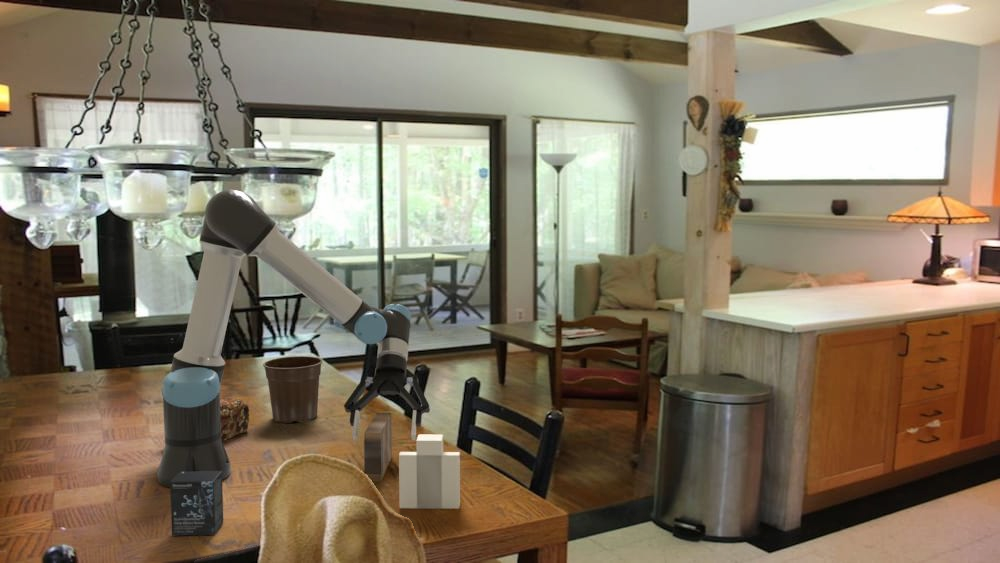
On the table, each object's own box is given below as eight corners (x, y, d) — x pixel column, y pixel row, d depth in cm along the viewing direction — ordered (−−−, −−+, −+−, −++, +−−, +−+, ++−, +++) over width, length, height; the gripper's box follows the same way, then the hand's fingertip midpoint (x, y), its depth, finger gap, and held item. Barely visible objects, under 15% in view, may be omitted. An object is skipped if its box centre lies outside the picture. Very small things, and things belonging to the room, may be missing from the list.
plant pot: (252, 422, 213) (250, 364, 212) (288, 407, 228) (286, 353, 227) (301, 428, 208) (299, 369, 206) (335, 413, 222) (334, 358, 221)
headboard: (459, 508, 155) (459, 440, 153) (399, 508, 155) (398, 440, 153) (461, 493, 163) (461, 428, 161) (404, 493, 163) (404, 428, 161)
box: (171, 537, 141) (169, 481, 140) (182, 524, 147) (180, 470, 146) (215, 536, 142) (213, 480, 141) (224, 523, 147) (222, 469, 146)
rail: (381, 481, 169) (380, 433, 168) (364, 481, 169) (363, 433, 168) (392, 457, 185) (391, 412, 184) (376, 457, 185) (376, 412, 184)
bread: (197, 452, 189) (195, 412, 187) (165, 446, 193) (164, 407, 192) (251, 431, 205) (250, 395, 204) (221, 426, 210) (220, 390, 209)
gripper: (442, 368, 195) (438, 445, 182) (344, 368, 195) (333, 445, 182) (441, 352, 189) (436, 430, 176) (339, 352, 189) (327, 430, 176)
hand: (383, 438), depth 179 cm, fingers open, 13 cm apart
